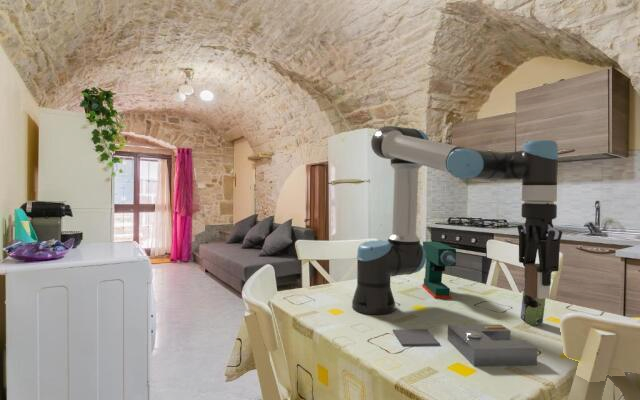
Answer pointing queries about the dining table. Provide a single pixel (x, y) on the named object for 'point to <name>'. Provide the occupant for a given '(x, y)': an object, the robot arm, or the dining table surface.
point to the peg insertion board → (491, 345)
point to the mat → (415, 337)
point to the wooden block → (531, 279)
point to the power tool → (437, 268)
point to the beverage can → (532, 310)
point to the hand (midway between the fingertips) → (536, 295)
